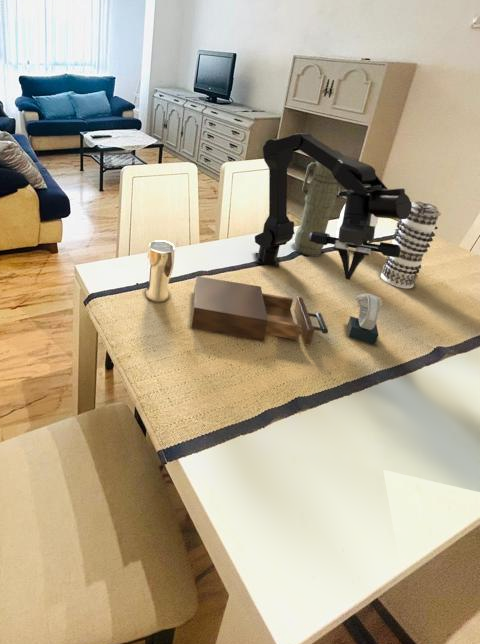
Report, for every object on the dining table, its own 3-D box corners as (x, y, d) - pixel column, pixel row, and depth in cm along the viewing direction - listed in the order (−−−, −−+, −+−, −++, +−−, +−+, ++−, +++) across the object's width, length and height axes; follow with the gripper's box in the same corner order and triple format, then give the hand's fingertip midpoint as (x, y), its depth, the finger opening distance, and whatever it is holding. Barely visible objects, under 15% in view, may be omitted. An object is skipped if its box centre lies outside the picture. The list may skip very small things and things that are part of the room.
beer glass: (173, 291, 106) (178, 243, 100) (165, 305, 100) (170, 255, 95) (149, 284, 109) (153, 237, 103) (140, 297, 103) (144, 248, 97)
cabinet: (256, 305, 102) (260, 286, 100) (263, 341, 90) (268, 320, 87) (193, 294, 105) (196, 275, 103) (191, 328, 93) (194, 307, 90)
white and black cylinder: (383, 268, 123) (408, 196, 114) (418, 281, 117) (447, 206, 108) (375, 279, 117) (401, 203, 108) (411, 293, 111) (442, 214, 102)
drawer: (316, 314, 98) (320, 300, 97) (329, 349, 87) (334, 334, 86) (236, 300, 102) (239, 287, 101) (240, 332, 91) (243, 317, 89)
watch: (371, 328, 96) (384, 292, 92) (375, 350, 89) (390, 311, 85) (346, 321, 98) (358, 285, 94) (348, 341, 91) (361, 303, 87)
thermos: (327, 259, 126) (357, 157, 114) (289, 251, 130) (313, 151, 117) (324, 247, 134) (352, 150, 121) (288, 240, 138) (311, 145, 125)
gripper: (309, 206, 93) (299, 270, 92) (404, 217, 82) (394, 290, 81) (317, 212, 102) (308, 270, 101) (404, 223, 91) (395, 289, 89)
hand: (347, 279), depth 93 cm, fingers closed
